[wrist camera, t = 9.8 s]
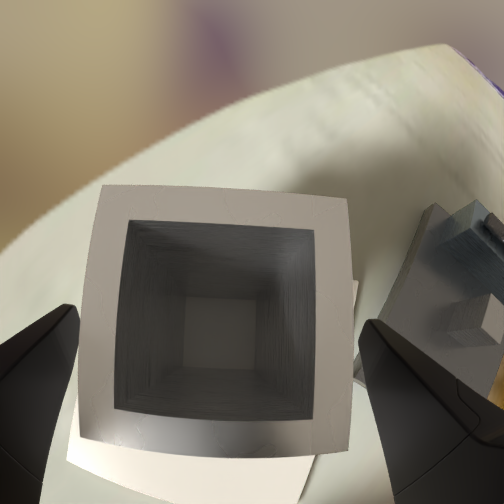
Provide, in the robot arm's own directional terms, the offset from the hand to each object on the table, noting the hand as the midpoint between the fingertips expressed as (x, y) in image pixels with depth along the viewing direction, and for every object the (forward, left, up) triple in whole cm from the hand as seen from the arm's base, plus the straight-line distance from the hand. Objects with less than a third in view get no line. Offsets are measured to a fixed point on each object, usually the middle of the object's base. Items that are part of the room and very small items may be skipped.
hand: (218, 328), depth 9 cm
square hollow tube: (0, 0, -8) cm, 8 cm away
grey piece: (+4, -16, -9) cm, 19 cm away
